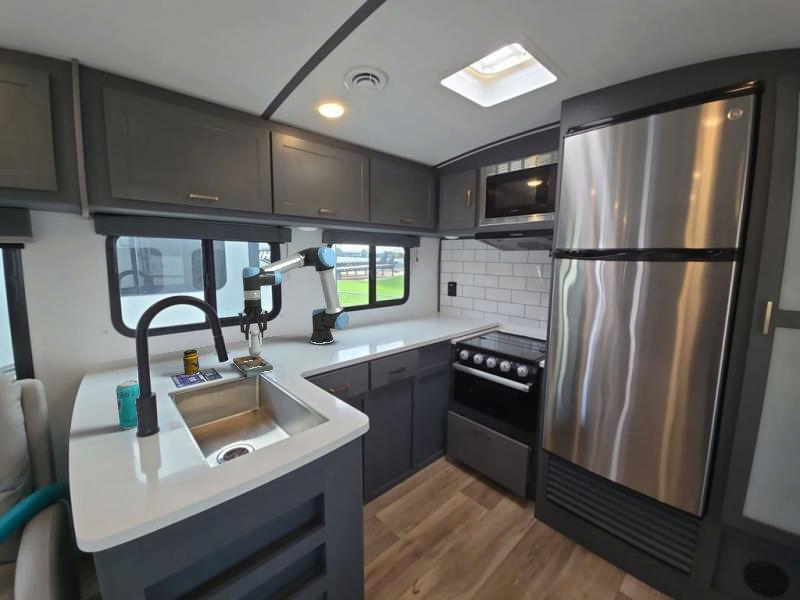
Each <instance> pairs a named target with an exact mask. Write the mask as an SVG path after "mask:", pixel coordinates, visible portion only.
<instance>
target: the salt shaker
mask: <svg viewBox="0 0 800 600" xmlns="http://www.w3.org/2000/svg"><path fill="white" fill-rule="evenodd" d="M259 331H260V330H259V329H249V333H250V335H251V347H249V346H248V347H249V348H248V353H249V356H250V355H251V356H253V357H255V356H261V353H262V345H260V342H259V338H258V334H259Z"/></svg>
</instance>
